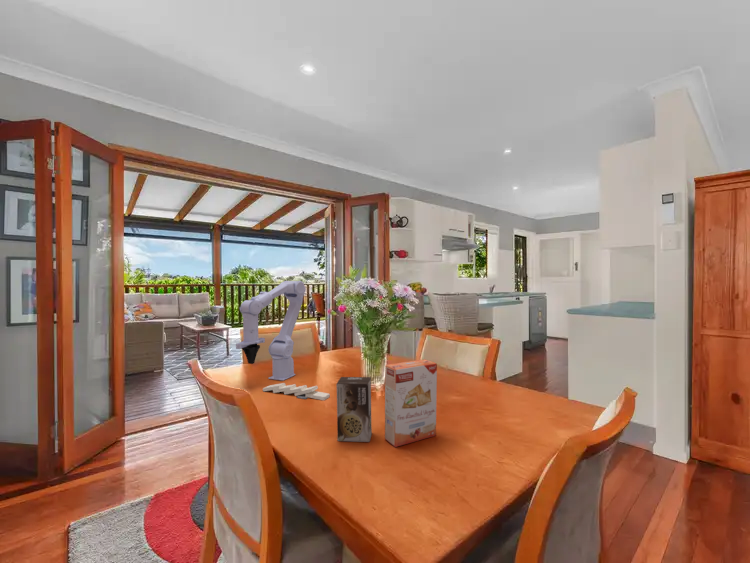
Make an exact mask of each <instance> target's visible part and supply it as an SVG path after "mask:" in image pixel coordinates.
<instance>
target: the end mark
mask: <svg viewBox="0 0 750 563" xmlns="http://www.w3.org/2000/svg"><path fill="white" fill-rule="evenodd" d="M295 397H296V399H302V400H307V399H308V398H309V397H305V394H302V395H298V396H295Z"/></svg>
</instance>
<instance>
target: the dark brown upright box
mask: <svg viewBox="0 0 750 563" xmlns="http://www.w3.org/2000/svg"><path fill="white" fill-rule="evenodd" d="M371 378H372V377H371V376H368V377H367V376H341V377H339V379H338V381H337V383H336V384H335V385H336V417H337V419H336V420H337V421H336V422H337V423H336V425H337V426H336V428H337V430H336V432H337V436H336V438H337V440H336V441H337V442H355V443H357V442H358V443H360V442H361V443H363V442H364V443H370V442H371V437H372V434H373V432H372V431H373V430H372V429H373V428H372V427H373V426H372V382H371V381H372V379H371Z"/></svg>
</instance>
